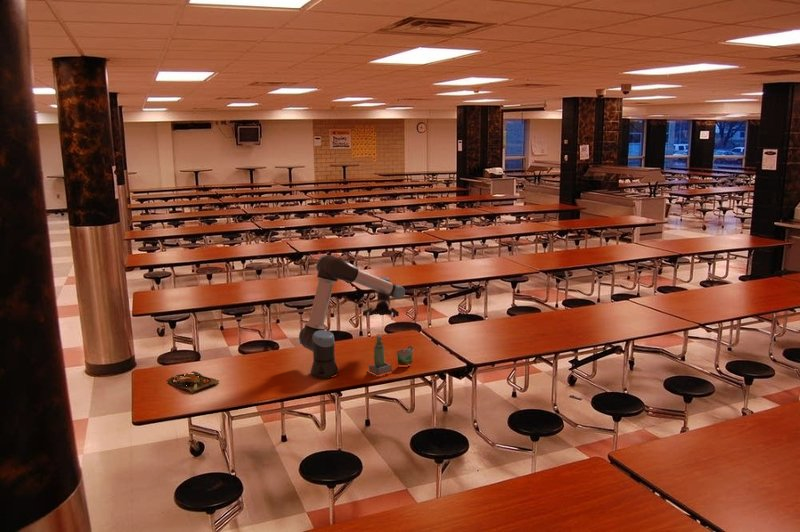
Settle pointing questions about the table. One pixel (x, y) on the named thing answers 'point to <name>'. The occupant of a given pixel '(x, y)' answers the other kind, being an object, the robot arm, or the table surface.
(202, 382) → the prepared meal
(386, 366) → the bottle rest
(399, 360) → the food container
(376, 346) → the bottle
